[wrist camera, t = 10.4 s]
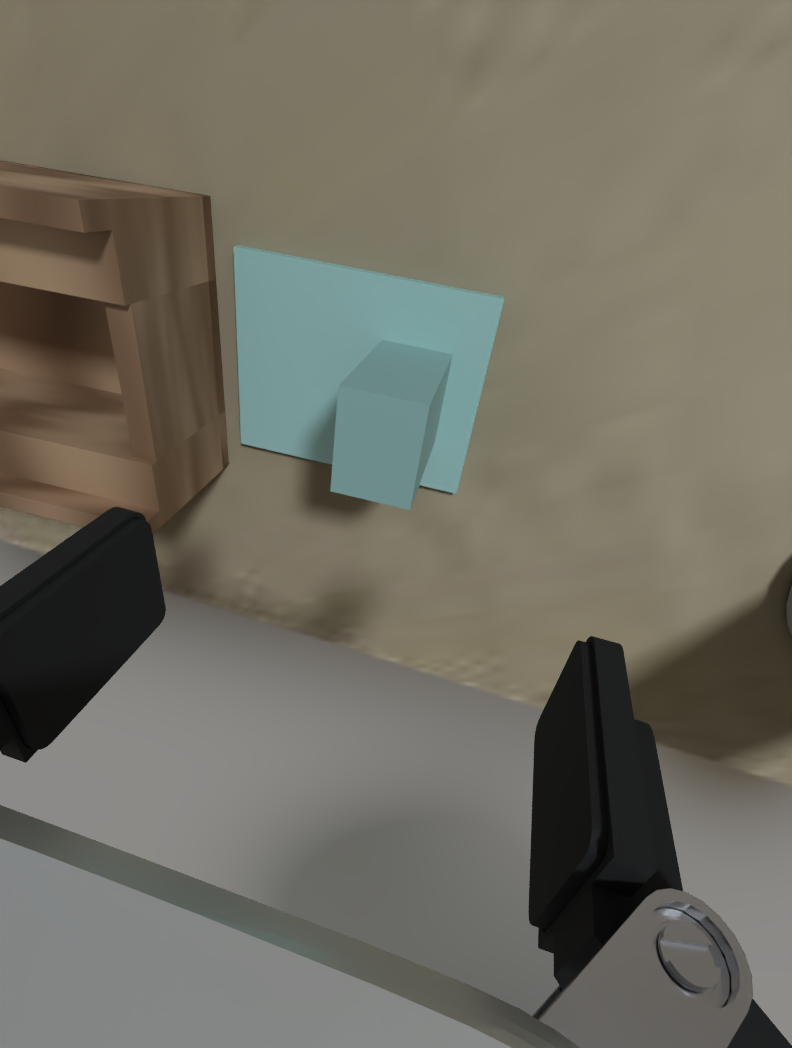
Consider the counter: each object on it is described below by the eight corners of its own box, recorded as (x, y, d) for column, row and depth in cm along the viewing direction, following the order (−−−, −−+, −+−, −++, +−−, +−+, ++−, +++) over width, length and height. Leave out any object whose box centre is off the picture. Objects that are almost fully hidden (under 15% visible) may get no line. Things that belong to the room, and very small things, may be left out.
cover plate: (505, 295, 20) (496, 337, 14) (458, 485, 25) (438, 570, 20) (242, 244, 21) (140, 265, 16) (248, 437, 26) (172, 504, 21)
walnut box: (210, 196, 20) (77, 200, 14) (228, 464, 27) (144, 541, 21) (-100, 143, 21) (-336, 127, 16) (-8, 410, 28) (-148, 469, 22)
